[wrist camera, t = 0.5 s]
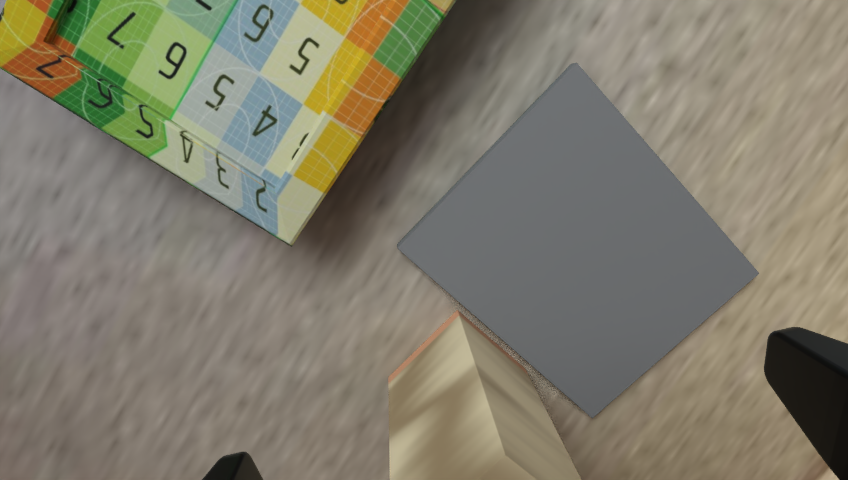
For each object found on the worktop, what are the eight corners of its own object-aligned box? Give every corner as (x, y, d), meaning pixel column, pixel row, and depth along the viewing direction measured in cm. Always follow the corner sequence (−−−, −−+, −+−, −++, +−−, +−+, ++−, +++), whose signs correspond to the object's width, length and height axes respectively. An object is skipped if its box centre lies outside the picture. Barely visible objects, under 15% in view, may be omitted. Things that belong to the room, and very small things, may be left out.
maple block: (457, 430, 26) (499, 626, 16) (388, 377, 25) (391, 556, 15) (525, 368, 25) (610, 537, 16) (457, 309, 24) (505, 454, 14)
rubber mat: (587, 411, 26) (592, 418, 26) (397, 244, 23) (397, 248, 22) (750, 269, 24) (759, 273, 24) (571, 63, 21) (576, 62, 20)
